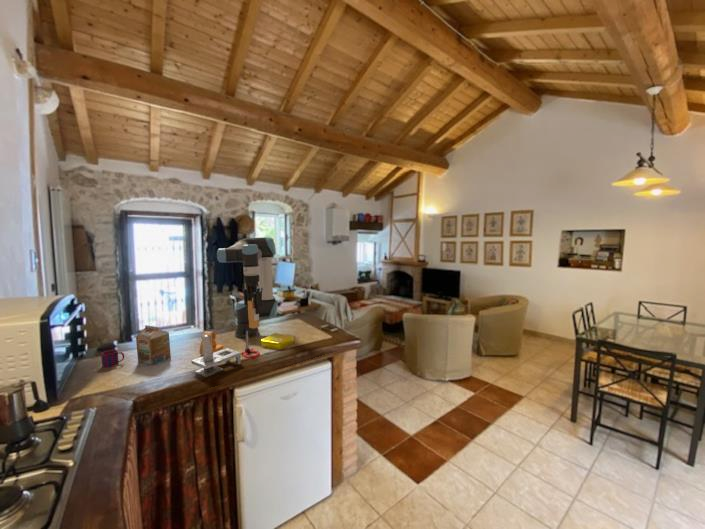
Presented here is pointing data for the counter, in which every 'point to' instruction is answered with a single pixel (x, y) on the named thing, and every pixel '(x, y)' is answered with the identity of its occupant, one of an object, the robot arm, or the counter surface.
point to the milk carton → (152, 346)
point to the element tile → (277, 341)
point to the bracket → (214, 345)
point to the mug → (110, 358)
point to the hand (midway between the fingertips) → (253, 319)
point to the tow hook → (249, 349)
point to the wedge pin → (252, 315)
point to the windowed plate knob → (213, 357)
